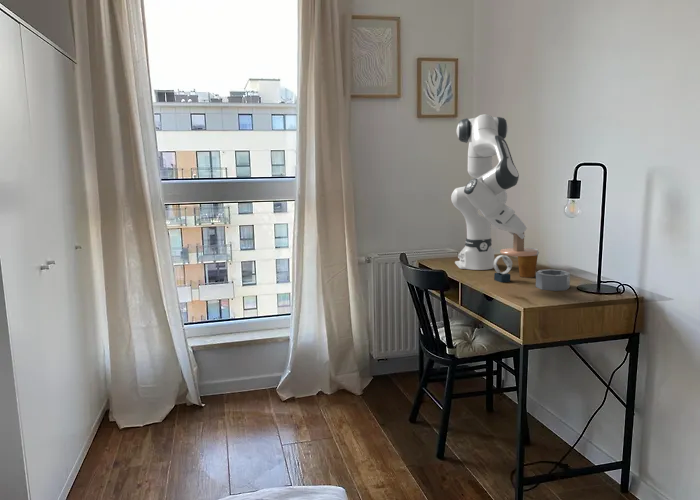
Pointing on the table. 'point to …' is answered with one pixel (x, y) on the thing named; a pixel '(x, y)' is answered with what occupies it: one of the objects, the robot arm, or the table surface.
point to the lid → (518, 248)
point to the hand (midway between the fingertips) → (520, 236)
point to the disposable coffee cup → (527, 265)
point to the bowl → (552, 280)
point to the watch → (504, 275)
